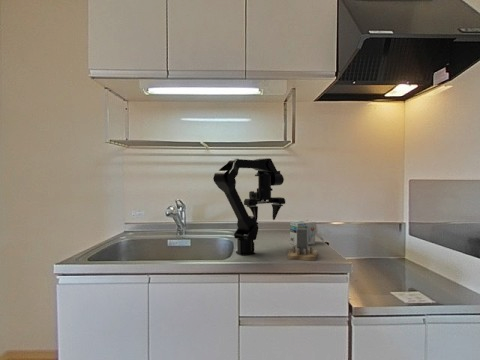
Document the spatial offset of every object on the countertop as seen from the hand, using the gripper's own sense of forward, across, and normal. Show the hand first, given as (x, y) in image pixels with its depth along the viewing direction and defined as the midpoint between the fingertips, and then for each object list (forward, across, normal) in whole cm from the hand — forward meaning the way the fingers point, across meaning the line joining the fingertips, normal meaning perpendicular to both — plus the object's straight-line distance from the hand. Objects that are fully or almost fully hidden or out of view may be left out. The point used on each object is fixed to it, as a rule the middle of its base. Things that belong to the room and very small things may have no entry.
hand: (265, 220), depth 167 cm
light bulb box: (+13, -22, -2) cm, 26 cm away
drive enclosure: (+12, -6, +20) cm, 24 cm away
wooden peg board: (+13, -6, +20) cm, 25 cm away
